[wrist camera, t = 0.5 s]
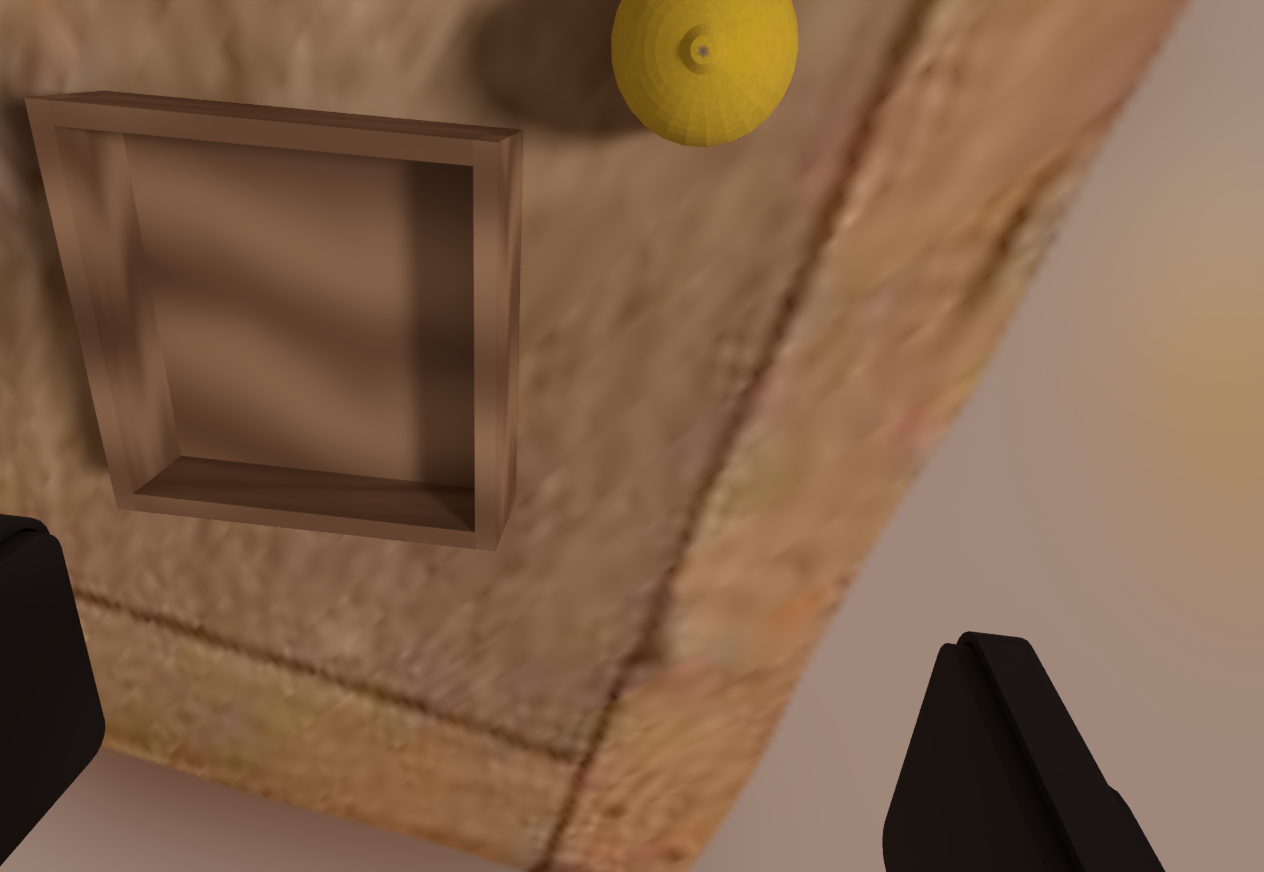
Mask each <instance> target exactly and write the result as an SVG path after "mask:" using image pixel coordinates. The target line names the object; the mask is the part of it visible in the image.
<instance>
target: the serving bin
mask: <svg viewBox="0 0 1264 872" xmlns="http://www.w3.org/2000/svg"><path fill="white" fill-rule="evenodd" d="M24 100H25V104H26V109H27V113H28V118H29V122H30V126H31V131H32V135H33V140H34V144H35V148H36V153H37V157H38V161H39V166H40V170H41V175H42V179H43V183H44V188H45V192H46V197H47V201H48V205H49V210H50V214H51V219H52V223H53V227H54V232H55V236H56V240H57V245H58V249H59V254H60V258H61V262H62V267H63V271H64V276H65V280H66V284H67V289H68V293H69V298H70V302H71V306H72V311H73V315H74V319H75V324H76V328H77V333H78V337H79V341H80V346H81V350H82V355H83V359H84V363H85V368H86V372H87V377H88V381H89V385H90V390H91V394H92V399H93V403H94V407H95V412H96V416H97V420H98V425H99V429H100V434H101V438H102V442H103V447H104V451H105V456H106V460H107V464H108V469H109V473H110V478H111V482H112V486H113V491H114V495H115V499H116V504H117V508H118V509H125V510H134V511H143V512H151V513H160V514H169V515H178V516H187V517H196V518H205V519H213V520H222V521H231V522H240V523H249V524H258V525H266V526H275V527H284V528H293V529H302V530H311V531H320V532H328V533H337V534H346V535H355V536H364V537H373V538H381V539H390V540H399V541H408V542H417V543H426V544H435V545H443V546H452V547H461V548H470V549H479V550H488V551H495V550H496V547H497V545H498V542H499V540H500V537H501V535H502V533H503V530H504V528H505V525H506V523H507V520H508V518H509V516H510V513H511V511H512V508H513V506H514V503H515V500H516V450H517V400H518V350H519V301H520V251H521V201H522V151H523V130H517V129H507V128H496V127H485V126H475V125H464V124H453V123H443V122H432V121H421V120H411V119H400V118H389V117H378V116H368V115H357V114H346V113H336V112H325V111H314V110H304V109H293V108H282V107H272V106H261V105H250V104H240V103H229V102H218V101H208V100H197V99H186V98H176V97H165V96H154V95H144V94H133V93H122V92H111V91H97V92H85V93H73V94H62V95H50V96H38V97H26V98H24Z"/></svg>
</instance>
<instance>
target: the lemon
mask: <svg viewBox="0 0 1264 872" xmlns="http://www.w3.org/2000/svg"><path fill="white" fill-rule="evenodd" d="M797 53H798V23H797V18H796V15H795V11H794V8H793V5H792V1H791V0H621V2H620V5H619V7H618V9H617V11H616V16H615V21H614V25H613V30H612V35H611V57H612V66H613V70H614V74H615V78H616V82H617V86H618V88H619V90H620V92H621V94H622V96H623V98H624V100H625V102H626V103H627V105H628V107H629V109H630V110H631V111H632V112H633V113H634V114H635V116H636V117H637V118H638V119H639V120H640V121H641V122H642V123H643V125H644V126H646V127H647V128H649V129H650V130H652V131H653V132H655V133H656V134H657V135H659V136H660V137H662V138H664V139H666V140H669V141H672V142H675V143H678V144H681V145H684V146H697V147H710V146H715V145H720V144H725V143H730V142H732V141H734V140H736V139H738V138H740V137H742V136H744V135H746V134H748V133H750V132H751V131H752V130H754V129H755V128H756V127H757V126H758V125H760V124H761V123H762V122H763V121H764V120H766V119H767V118H768V117H769V116H770V114H771V113H772V112H773V110H774V109H775V108H776V106H777V105H778V104H779V102H780V101H781V100H782V98H783V97H784V95H785V93H786V90H787V88H788V86H789V83H790V81H791V79H792V76H793V74H794V69H795V64H796V59H797Z"/></svg>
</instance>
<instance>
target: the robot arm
mask: <svg viewBox="0 0 1264 872" xmlns="http://www.w3.org/2000/svg"><path fill="white" fill-rule="evenodd" d="M104 734H105V719H104V715H103V711H102V707H101V703H100V699H99V695H98V691H97V687H96V683H95V679H94V675H93V671H92V667H91V663H90V659H89V655H88V651H87V647H86V643H85V639H84V635H83V631H82V627H81V623H80V619H79V615H78V611H77V607H76V603H75V599H74V595H73V591H72V587H71V583H70V579H69V575H68V571H67V567H66V563H65V559H64V555H63V551H62V547H61V545H60V543H59V540H58V539H57V538H56V537H54V536H53V535H50V534H49V531H48V529H47V527H46V526H45V525H44V524H43V523H42V522H41V521H39V520H36V519H34V518H29V517H20V516H12V515H4V514H0V866H1V865H2V864H3V862H4V861H5V860H6V859H7V858H8V857H9V855H10V854H11V853H12V852H13V851H14V850H15V849H16V847H17V846H18V845H19V844H20V843H21V842H22V840H23V839H24V838H25V837H26V836H27V835H28V833H29V832H30V831H31V830H32V829H33V828H34V826H35V825H36V824H37V823H38V822H39V821H40V820H41V818H42V817H43V816H44V815H45V814H46V813H47V811H48V810H49V809H50V808H51V807H52V806H53V805H54V803H55V802H56V801H57V800H58V798H59V797H60V796H61V795H62V794H63V793H64V792H65V790H66V789H67V788H68V787H69V786H70V785H71V784H72V783H73V781H74V780H75V779H76V778H77V777H78V775H79V774H80V773H81V772H82V771H83V770H84V769H85V767H86V766H87V765H88V764H89V763H90V761H91V760H92V759H93V758H94V756H95V755H96V754H97V752H98V750H99V748H100V746H101V744H102V741H103V738H104ZM882 846H883V858H884V864H885V868H886V872H1165V870H1164V868H1163V867H1162V865H1161V863H1160V861H1159V860H1158V858H1157V856H1156V854H1155V853H1154V851H1153V849H1152V847H1151V845H1150V844H1149V842H1148V840H1147V838H1146V836H1145V835H1144V833H1143V831H1142V829H1141V828H1140V826H1139V824H1138V822H1137V820H1136V819H1135V817H1134V815H1133V813H1132V811H1131V810H1130V808H1129V806H1128V805H1127V804H1126V802H1125V801H1124V800H1123V798H1122V797H1121V795H1120V794H1119V793H1118V792H1117V791H1116V790H1114V789H1113V788H1112V787H1110V786H1109V785H1108V784H1107V782H1106V780H1105V778H1104V777H1103V775H1102V773H1101V771H1100V769H1099V767H1098V765H1097V764H1096V762H1095V760H1094V758H1093V756H1092V755H1091V753H1090V751H1089V749H1088V747H1087V745H1086V744H1085V742H1084V740H1083V738H1082V736H1081V735H1080V733H1079V731H1078V729H1077V727H1076V726H1075V724H1074V722H1073V720H1072V718H1071V716H1070V715H1069V713H1068V711H1067V709H1066V707H1065V705H1064V704H1063V702H1062V700H1061V698H1060V696H1059V695H1058V693H1057V691H1056V689H1055V687H1054V686H1053V684H1052V682H1051V680H1050V678H1049V676H1048V675H1047V673H1046V671H1045V669H1044V667H1043V666H1042V664H1041V662H1040V660H1039V658H1038V656H1037V655H1036V653H1035V651H1034V649H1033V648H1032V646H1031V645H1030V643H1029V642H1028V641H1027V640H1025V639H1023V638H1019V637H1012V636H1003V635H995V634H987V633H978V632H970V631H969V632H965V633H963V634H962V635H961V637H960V638H959V640H958V642H957V644H950V643H946V644H944V645H943V646H942V647H941V648H940V651H939V653H938V656H937V659H936V662H935V665H934V668H933V672H932V674H931V678H930V681H929V684H928V687H927V691H926V693H925V697H924V700H923V703H922V706H921V709H920V713H919V716H918V719H917V722H916V725H915V728H914V732H913V735H912V738H911V741H910V744H909V748H908V750H907V754H906V757H905V760H904V763H903V766H902V770H901V772H900V776H899V779H898V782H897V785H896V788H895V792H894V794H893V798H892V801H891V804H890V807H889V810H888V813H887V817H886V820H885V824H884V828H883V843H882Z"/></svg>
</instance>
